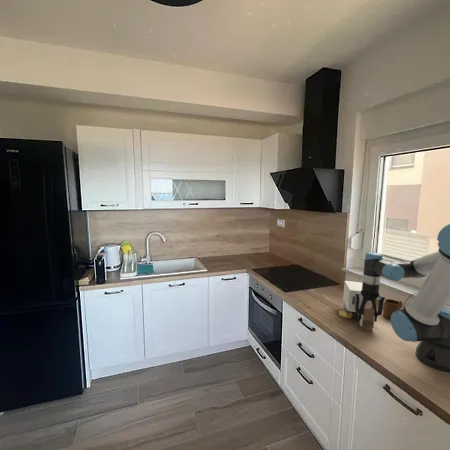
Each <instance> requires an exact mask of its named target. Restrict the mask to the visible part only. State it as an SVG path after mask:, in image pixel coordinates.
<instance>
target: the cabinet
mask: <svg viewBox="0 0 450 450" xmlns="http://www.w3.org/2000/svg"><path fill="white" fill-rule="evenodd" d="M362 283H363V282H359V281H349V280H344V287H343V296H342V306H341V307H342V308H341V310H348V311H350V312H352V313H353V312H354V313H357V312H356V311H355V302H356V295H355V292H357V293H359V292H361V290H362ZM362 300H363V296H362V295H360V297H359V308H360V306H361V303H362ZM366 305H369V306H372V301H367V303H366Z"/></svg>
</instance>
